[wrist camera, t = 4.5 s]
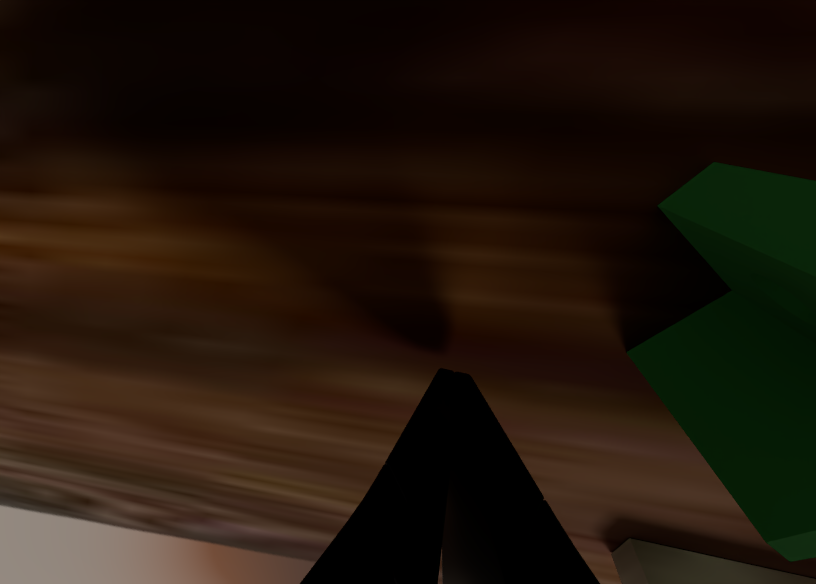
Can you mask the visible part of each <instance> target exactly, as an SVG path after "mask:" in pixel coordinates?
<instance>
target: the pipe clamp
mask: <svg viewBox="0 0 816 584" xmlns="http://www.w3.org/2000/svg"><path fill="white" fill-rule="evenodd" d="M657 206H658V207H659V208H660V209H661V211H662V212H663V213H664V214H665V215H666V216H667V217H668V219H669V220H670V221H671V222H672V223H673V224H674V225H675V226H676V228H677V229H678V230H679V231H680V232H681V233H682V234H683V236H684V237H685V238H686V239H687V240H688V241H689V242H690V243H691V245H692V246H693V247H694V248H695V249H696V250H697V251H698V253H699V254H700V255H701V256H702V257H703V258H704V259H705V261H706V262H707V263H708V264H709V265H710V266H711V267H712V268H713V270H714V271H715V272H716V273H717V274H718V275H719V276H720V278H721V279H722V280H723V281H724V282H725V283H726V284H727V285H728V287H729V288H730V289H731V290H732V291H730V292H728V293H727V294H725V295H723V296H722V297H720V298H718V299H716V300H715V301H713V302H711V303H710V304H708V305H706V306H704V307H703V308H701V309H699V310H698V311H696V312H694V313H692V314H691V315H689V316H687V317H686V318H684V319H682V320H681V321H679V322H677V323H675V324H674V325H672V326H670V327H669V328H667V329H665V330H663V331H662V332H660V333H658V334H657V335H655V336H653V337H651V338H650V339H648V340H646V341H645V342H643V343H641V344H639V345H638V346H636V347H634V348H633V349H631V350H629V351H628V352H626V353H627V354H628V355H629V357H630V358H631V359H632V361H633V362H634V363H635V365H636V366H637V368H638V369H639V370H640V372H641V373H642V374H643V376H644V377H645V378H646V380H647V381H648V382H649V384H650V385H651V387H652V388H653V389H654V391H655V392H656V393H657V395H658V396H659V397H660V399H661V400H662V402H663V403H664V404H665V406H666V407H667V408H668V410H669V411H670V412H671V414H672V415H673V416H674V418H675V419H676V421H677V422H678V423H679V425H680V426H681V427H682V429H683V430H684V431H685V433H686V434H687V436H688V437H689V438H690V440H691V441H692V442H693V444H694V445H695V446H696V448H697V449H698V451H699V452H700V453H701V455H702V456H703V457H704V459H705V460H706V461H707V463H708V464H709V465H710V467H711V468H712V470H713V471H714V472H715V474H716V475H717V476H718V478H719V479H720V480H721V482H722V483H723V485H724V486H725V487H726V489H727V490H728V491H729V493H730V494H731V495H732V497H733V498H734V500H735V501H736V502H737V504H738V505H739V506H740V508H741V509H742V510H743V512H744V513H745V514H746V516H747V517H748V519H749V520H750V521H751V523H752V524H753V525H754V527H755V528H756V529H757V531H758V532H759V534H760V535H761V536H762V538H763V539H764V540H765V542H766V543H767V544H769V545H770V546H771V547H772V548H773V549H775V550H776V551H777V552H778V553H780V554H781V555H782V556H783V557H785V558H786V559H787V560H788V561H789V562H792V561H797V560H803V559H809V558H815V557H816V181H813V180H808V179H803V178H797V177H792V176H787V175H781V174H776V173H770V172H765V171H760V170H754V169H749V168H744V167H738V166H733V165H727V164H722V163H717V162H713V163H712V164H711V165H709V166H708V167H707V168H705V169H704V170H703V171H702V172H700V173H699V174H698V175H696V176H695V177H694V178H692V179H691V180H690V181H689V182H687V183H686V184H685V185H683V186H682V187H681V188H680V189H678V190H677V191H676V192H674V193H673V194H672V195H670V196H669V197H668V198H667V199H665V200H664V201H663V202H661V203H660V204H659V205H657Z"/></svg>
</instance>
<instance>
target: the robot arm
mask: <svg viewBox="0 0 816 584" xmlns="http://www.w3.org/2000/svg"><path fill="white" fill-rule="evenodd" d="M543 499H544V496H543V495H542V493H541V491H540V490H539V488H538V486H537V485H536V483H535V481H534V480H533V478H532V476H531V475H530V473H529V471H528V470H527V468H526V467H525V465H524V463H523V462H522V460H521V458H520V457H519V455H518V453H517V452H516V450H515V448H514V447H513V445H512V443H511V442H510V440H509V438H508V437H507V435H506V433H505V432H504V430H503V428H502V427H501V425H500V423H499V422H498V420H497V418H496V417H495V415H494V413H493V412H492V410H491V408H490V407H489V405H488V403H487V402H486V400H485V398H484V397H483V395H482V394H481V392H480V390H479V389H478V387H477V385H476V384H475V382H474V380H473V379H472V377H471V376H470V375H469V374H466V373H461V372H455V373H454V372H453V371H452V370H447V369H443V368H440V369H439V370H438V371H437V373H436V375H435V377H434V378H433V380H432V382H431V384H430V385H429V387H428V389H427V391H426V392H425V394H424V396H423V398H422V399H421V401H420V403H419V405H418V406H417V408H416V410H415V411H414V413H413V415H412V417H411V418H410V420H409V422H408V424H407V425H406V427H405V429H404V431H403V432H402V434H401V436H400V438H399V439H398V441H397V443H396V445H395V446H394V448H393V450H392V452H391V453H390V455H389V457H388V459H387V460H386V462H385V465H383V467H382V469H381V470H380V472H379V474H378V476H377V477H376V479H375V481H374V482H373V484H372V485H371V487H370V489H369V490H368V492H367V494H366V495H365V497H364V498H363V500H362V501H361V503H360V504H359V506H358V507H357V508H356V510H355V511H354V513H353V514H352V515H351V517H350V518H349V520H348V521H347V522H346V524H345V525H344V526H343V528H342V529H341V530H340V532H339V533H338V534H337V536H336V537H335V538H334V540H333V541H332V542H331V544H330V545H329V546H328V547H327V549H326V550H325V551H324V553H323V554H322V555H321V557H320V558H319V559H318V561H317V562H316V563H315V564H314V566H313V567H312V568H311V570H310V571H309V573H308V574H307V575H306V576H305V578H304V579H303V580H302V581H301V583H300V584H438V575H439V566H440V557H441V549H442V575H443V584H600V583H599V581H598V580H597V579H596V577H595V576H594V574H593V573H592V571H591V570H590V568H589V567H588V565H587V564H586V562H585V561H584V559H583V558H582V557H581V555H580V554H579V552H578V551H577V549H576V548H575V546H574V545H573V543H572V541H571V540H570V538H569V537H568V535H567V534H566V532H565V530H564V529H563V527H562V526H561V524H560V522H559V521H558V519H557V518H556V516H555V514H554V513H553V511H552V509H551V508H550V506H549V504H548V503H547V501H546V500H543Z"/></svg>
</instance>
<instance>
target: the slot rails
mask: <svg viewBox="0 0 816 584" xmlns="http://www.w3.org/2000/svg"><path fill="white" fill-rule="evenodd" d="M611 555H612V558H613V561H614V563H615V566H616V569H617V572H618V574H619V577H620V580H621V582H622V584H816V579H813V578H808V577H804V576H799V575H795V574H790V573H786V572H781V571H777V570H772V569H767V568H763V567H758V566H754V565H749V564H745V563H740V562H736V561H731V560H726V559H722V558H717V557H713V556H708V555H704V554H699V553H695V552H690V551H686V550H681V549H676V548H672V547H667V546H663V545H658V544H654V543H649V542H645V541H640V540H635V539H631V538H629V539H628V540H627V541H626V542H624V543H623V544H622V545H621V546H620V547H619V548H617V549H616V550H615V551H614V552H613V553H612V554H611Z"/></svg>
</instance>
